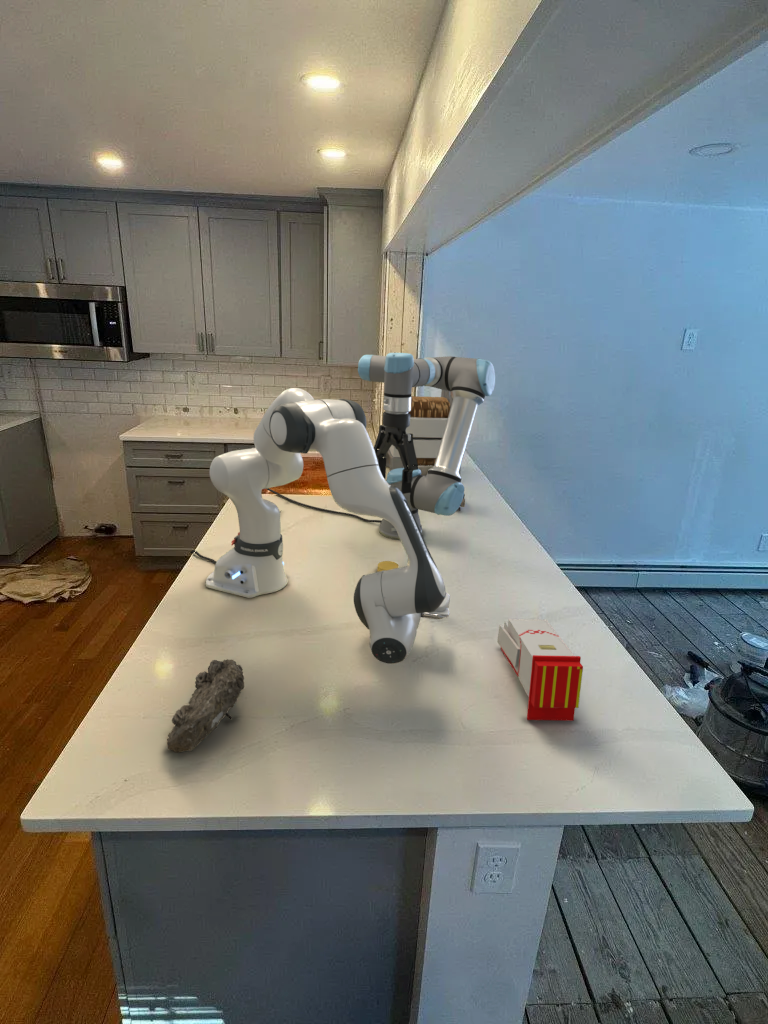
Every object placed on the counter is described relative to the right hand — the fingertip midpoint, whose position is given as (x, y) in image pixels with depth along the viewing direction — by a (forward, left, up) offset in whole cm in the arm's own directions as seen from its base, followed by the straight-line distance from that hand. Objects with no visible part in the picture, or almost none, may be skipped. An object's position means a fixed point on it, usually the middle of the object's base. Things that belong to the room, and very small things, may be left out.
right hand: (392, 486), depth 162 cm
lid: (0, 0, -25) cm, 25 cm away
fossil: (+28, -69, -27) cm, 79 cm away
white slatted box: (-73, +84, -27) cm, 115 cm away
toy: (+58, -10, -27) cm, 65 cm away
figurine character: (-30, +61, -27) cm, 73 cm away
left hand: (+26, -16, -16) cm, 34 cm away
